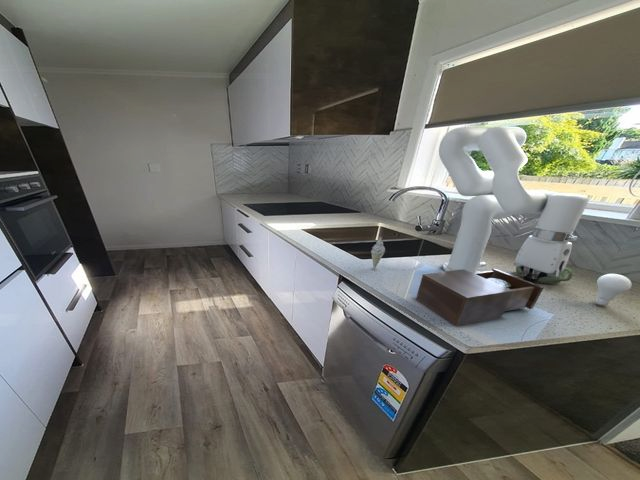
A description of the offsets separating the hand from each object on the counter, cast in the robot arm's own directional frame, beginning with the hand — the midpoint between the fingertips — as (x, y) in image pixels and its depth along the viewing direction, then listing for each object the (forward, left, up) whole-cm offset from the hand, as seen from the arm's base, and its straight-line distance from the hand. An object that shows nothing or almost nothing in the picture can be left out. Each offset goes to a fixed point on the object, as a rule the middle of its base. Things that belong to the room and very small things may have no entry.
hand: (526, 287), depth 81 cm
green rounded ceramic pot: (-23, -8, -5) cm, 25 cm away
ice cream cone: (+34, -31, -5) cm, 47 cm away
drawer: (+12, 0, -3) cm, 12 cm away
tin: (+13, -1, -2) cm, 13 cm away
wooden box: (+27, 0, -4) cm, 28 cm away
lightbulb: (-20, +9, -5) cm, 22 cm away
